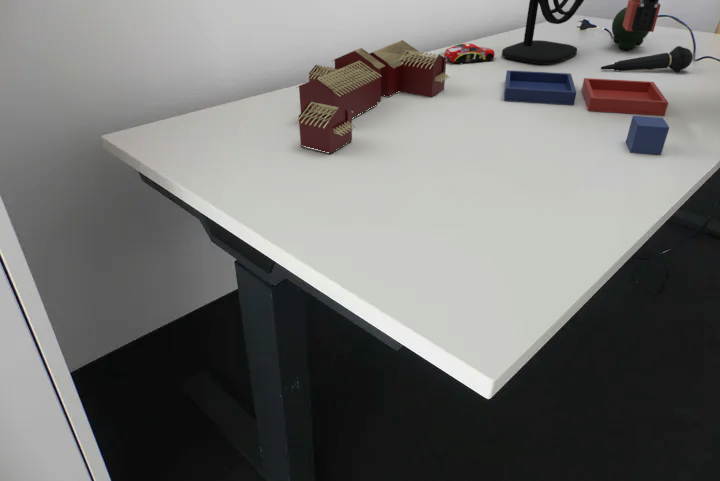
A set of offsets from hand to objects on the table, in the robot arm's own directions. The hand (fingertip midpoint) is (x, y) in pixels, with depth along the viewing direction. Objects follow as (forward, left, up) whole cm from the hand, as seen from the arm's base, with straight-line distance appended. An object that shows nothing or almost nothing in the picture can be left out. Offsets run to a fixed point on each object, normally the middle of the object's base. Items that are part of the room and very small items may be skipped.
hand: (638, 26), depth 100 cm
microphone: (-9, -27, -15) cm, 32 cm away
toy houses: (+50, +14, -15) cm, 54 cm away
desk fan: (+14, -36, -15) cm, 41 cm away
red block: (0, 0, 0) cm, 0 cm away
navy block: (0, +23, -14) cm, 28 cm away
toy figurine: (-9, -52, -15) cm, 55 cm away
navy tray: (+16, -4, -14) cm, 22 cm away
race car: (+32, -28, -15) cm, 45 cm away
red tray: (0, -1, -14) cm, 14 cm away
